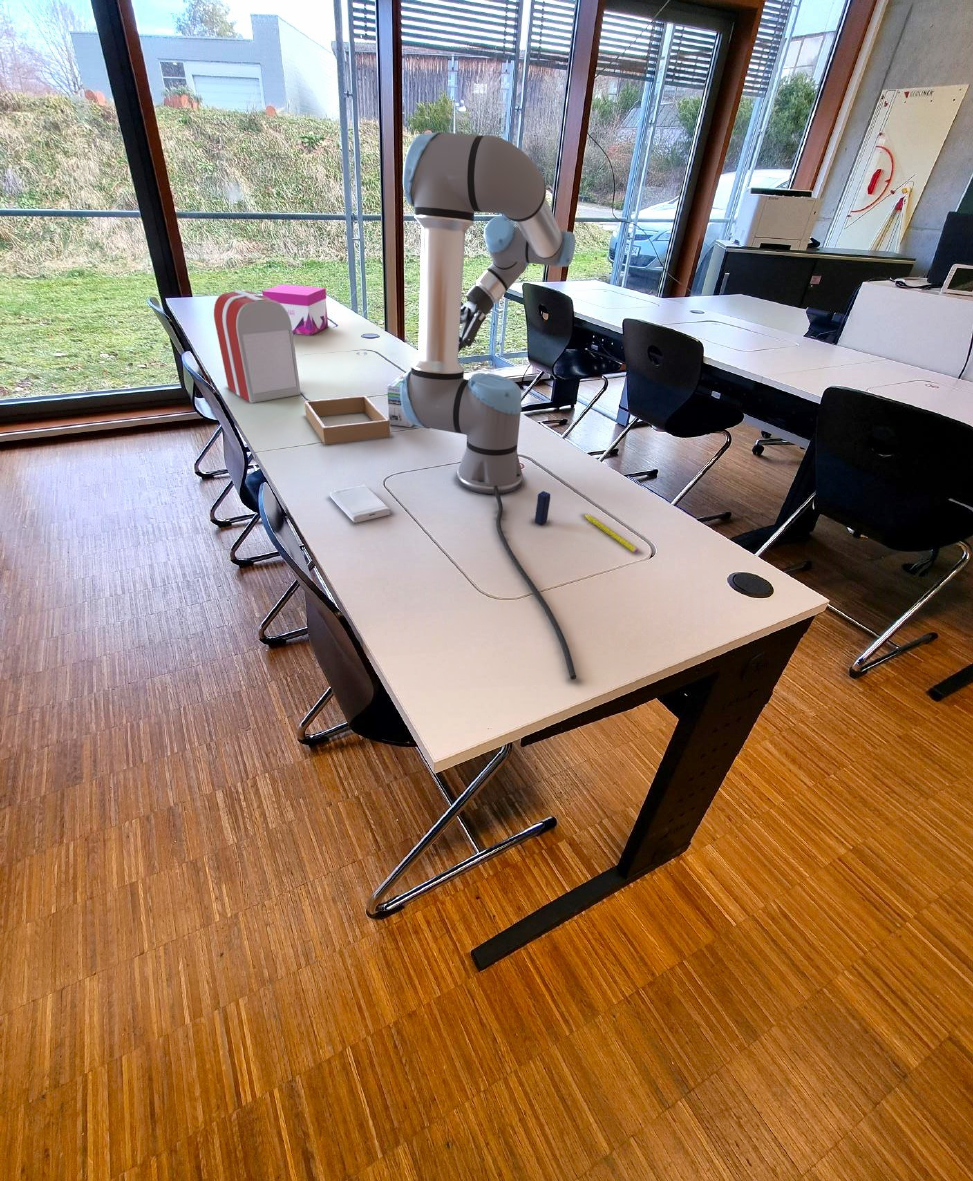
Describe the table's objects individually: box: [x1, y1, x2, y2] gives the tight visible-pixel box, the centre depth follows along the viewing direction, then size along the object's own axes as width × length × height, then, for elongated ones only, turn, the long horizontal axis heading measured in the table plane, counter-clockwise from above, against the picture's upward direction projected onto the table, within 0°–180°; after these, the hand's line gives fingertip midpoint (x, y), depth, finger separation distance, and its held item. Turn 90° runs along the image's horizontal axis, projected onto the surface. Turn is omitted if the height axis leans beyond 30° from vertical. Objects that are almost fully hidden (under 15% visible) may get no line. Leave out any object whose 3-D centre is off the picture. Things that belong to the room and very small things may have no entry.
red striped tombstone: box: [213, 289, 302, 404], centre depth 173 cm, size 17×18×27 cm
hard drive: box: [329, 484, 391, 524], centre depth 123 cm, size 2×8×12 cm
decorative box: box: [261, 283, 329, 336], centre depth 245 cm, size 19×19×15 cm
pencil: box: [584, 514, 639, 554], centre depth 120 cm, size 16×1×1 cm, turn 30°
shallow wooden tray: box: [303, 395, 391, 446], centre depth 159 cm, size 22×18×4 cm
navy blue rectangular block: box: [534, 490, 551, 526], centre depth 120 cm, size 2×2×7 cm
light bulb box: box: [386, 375, 414, 428], centre depth 164 cm, size 11×7×11 cm, turn 169°
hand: (433, 356), depth 160 cm, fingers open, 13 cm apart
